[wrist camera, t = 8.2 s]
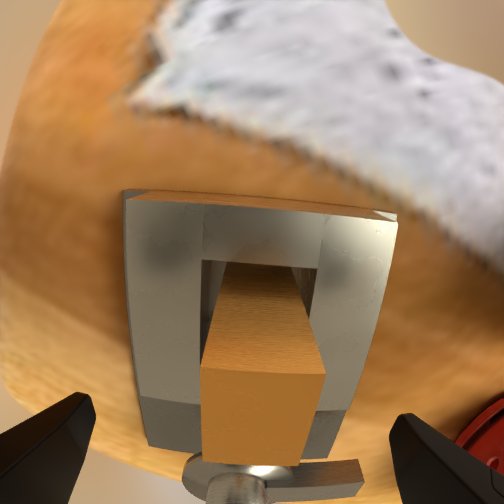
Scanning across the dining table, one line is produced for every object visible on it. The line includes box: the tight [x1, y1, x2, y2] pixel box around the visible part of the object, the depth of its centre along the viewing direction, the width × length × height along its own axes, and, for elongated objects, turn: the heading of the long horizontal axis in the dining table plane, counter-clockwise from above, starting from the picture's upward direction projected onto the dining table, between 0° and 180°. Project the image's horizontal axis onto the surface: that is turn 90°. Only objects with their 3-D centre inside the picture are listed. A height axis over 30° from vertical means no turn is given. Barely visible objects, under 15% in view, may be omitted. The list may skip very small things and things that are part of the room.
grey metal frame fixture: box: [123, 189, 398, 504], centre depth 14 cm, size 15×19×8 cm
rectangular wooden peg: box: [200, 261, 326, 466], centre depth 12 cm, size 3×4×9 cm
